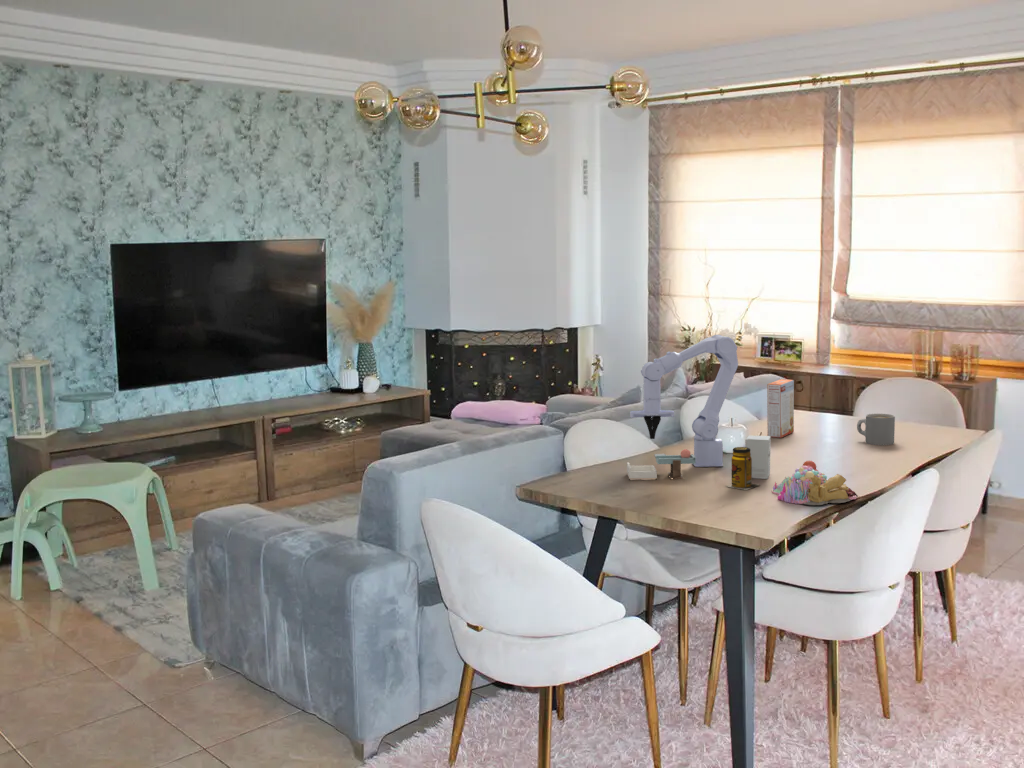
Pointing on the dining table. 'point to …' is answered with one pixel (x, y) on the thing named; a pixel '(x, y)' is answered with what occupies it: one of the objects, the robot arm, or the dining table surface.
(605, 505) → the dining table surface
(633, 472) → the dish
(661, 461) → the lever
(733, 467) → the condiment
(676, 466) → the fulcrum
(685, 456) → the ball
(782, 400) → the cracker box
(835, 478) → the candy landscape model
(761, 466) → the supplement box
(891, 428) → the coffee mug
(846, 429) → the dining table surface
